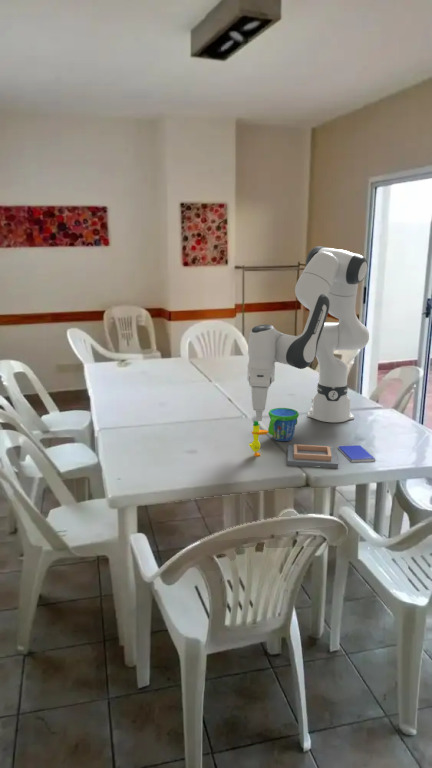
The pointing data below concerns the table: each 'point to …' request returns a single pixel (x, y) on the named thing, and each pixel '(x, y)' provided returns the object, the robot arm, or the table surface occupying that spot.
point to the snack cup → (282, 423)
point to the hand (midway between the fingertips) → (259, 416)
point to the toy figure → (256, 438)
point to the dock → (312, 456)
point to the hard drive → (356, 453)
